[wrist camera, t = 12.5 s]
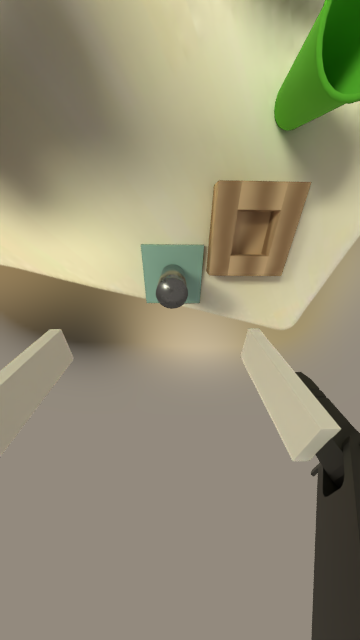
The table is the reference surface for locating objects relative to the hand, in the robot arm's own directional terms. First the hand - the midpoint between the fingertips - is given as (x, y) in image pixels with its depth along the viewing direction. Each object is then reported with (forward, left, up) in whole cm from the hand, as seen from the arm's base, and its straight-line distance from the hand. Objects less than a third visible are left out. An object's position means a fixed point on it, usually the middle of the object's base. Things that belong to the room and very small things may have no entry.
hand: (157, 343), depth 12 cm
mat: (+1, -1, -25) cm, 25 cm away
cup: (+18, +23, -25) cm, 38 cm away
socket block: (+15, +7, -25) cm, 30 cm away
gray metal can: (+1, -1, -24) cm, 24 cm away
